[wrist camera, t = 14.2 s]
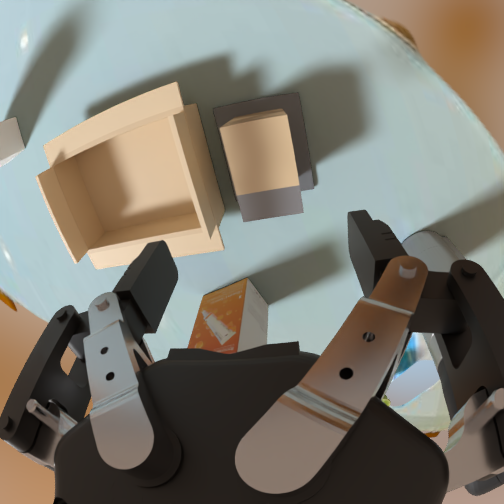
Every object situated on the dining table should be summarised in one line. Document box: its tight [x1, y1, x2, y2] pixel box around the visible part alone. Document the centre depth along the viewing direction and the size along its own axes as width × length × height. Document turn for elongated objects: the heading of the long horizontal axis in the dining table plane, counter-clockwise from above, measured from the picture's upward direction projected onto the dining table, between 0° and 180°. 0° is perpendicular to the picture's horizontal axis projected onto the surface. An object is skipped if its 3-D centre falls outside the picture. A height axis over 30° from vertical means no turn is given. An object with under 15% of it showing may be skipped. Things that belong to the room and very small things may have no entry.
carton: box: [36, 82, 225, 269], centre depth 28 cm, size 19×18×8 cm
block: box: [220, 109, 304, 222], centre depth 24 cm, size 5×8×9 cm, turn 12°
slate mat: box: [213, 93, 314, 201], centre depth 28 cm, size 9×11×1 cm
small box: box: [188, 278, 268, 354], centre depth 35 cm, size 8×6×13 cm
